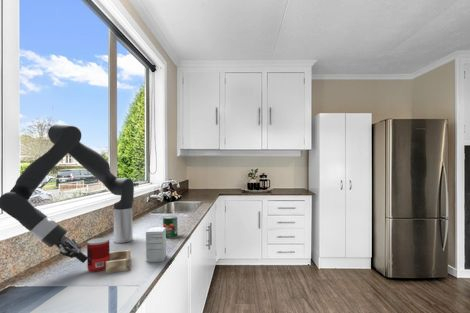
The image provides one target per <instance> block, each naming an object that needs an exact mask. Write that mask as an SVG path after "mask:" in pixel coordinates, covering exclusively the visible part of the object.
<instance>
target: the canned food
mask: <svg viewBox="0 0 470 313" xmlns="http://www.w3.org/2000/svg"><path fill="white" fill-rule="evenodd" d="M110 252H111V251H110V238H109V237H96V238H92V239H89V240H88V241H87V242H86V253H87V255H86V256H87V260H86V262H87V265H86V267H87V271H89V272H91V273H96V272H100V271H101V272H102V271H106V261H110Z"/></svg>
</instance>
